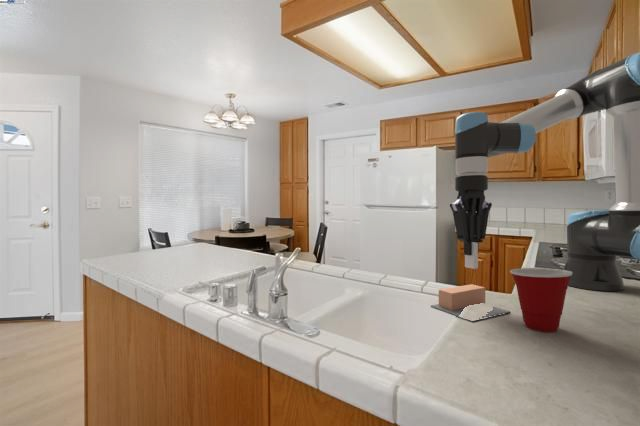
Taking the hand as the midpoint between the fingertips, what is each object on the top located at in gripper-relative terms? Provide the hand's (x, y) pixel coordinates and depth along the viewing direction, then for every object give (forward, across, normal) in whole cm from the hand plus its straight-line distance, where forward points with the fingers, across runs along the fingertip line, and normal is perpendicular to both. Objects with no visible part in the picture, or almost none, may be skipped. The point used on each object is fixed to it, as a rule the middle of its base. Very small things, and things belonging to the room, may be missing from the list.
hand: (471, 267), depth 84 cm
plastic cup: (+10, +1, +17) cm, 20 cm away
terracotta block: (+7, -3, 0) cm, 8 cm away
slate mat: (+9, +4, +3) cm, 11 cm away
